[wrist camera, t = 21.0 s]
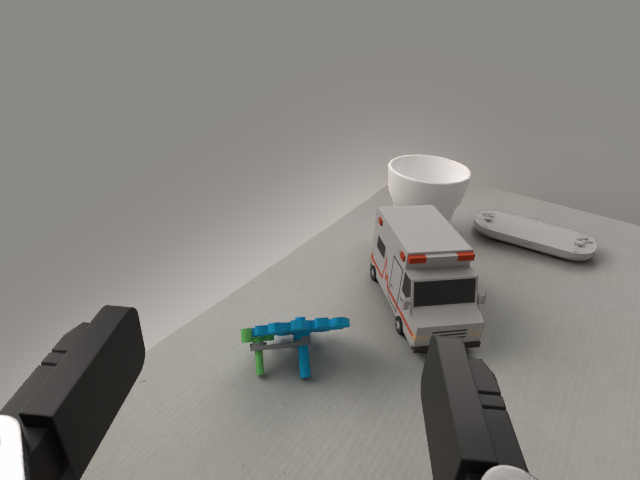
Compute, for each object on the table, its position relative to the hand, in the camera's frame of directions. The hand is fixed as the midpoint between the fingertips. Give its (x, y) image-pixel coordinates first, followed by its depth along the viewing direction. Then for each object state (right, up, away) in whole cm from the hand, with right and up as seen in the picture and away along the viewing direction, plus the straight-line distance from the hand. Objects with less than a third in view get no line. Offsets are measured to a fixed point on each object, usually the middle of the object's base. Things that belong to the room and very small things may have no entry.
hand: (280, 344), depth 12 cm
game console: (+35, +3, +60) cm, 69 cm away
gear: (-2, -10, +35) cm, 37 cm away
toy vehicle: (+13, -6, +44) cm, 46 cm away
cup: (+17, +4, +61) cm, 63 cm away
